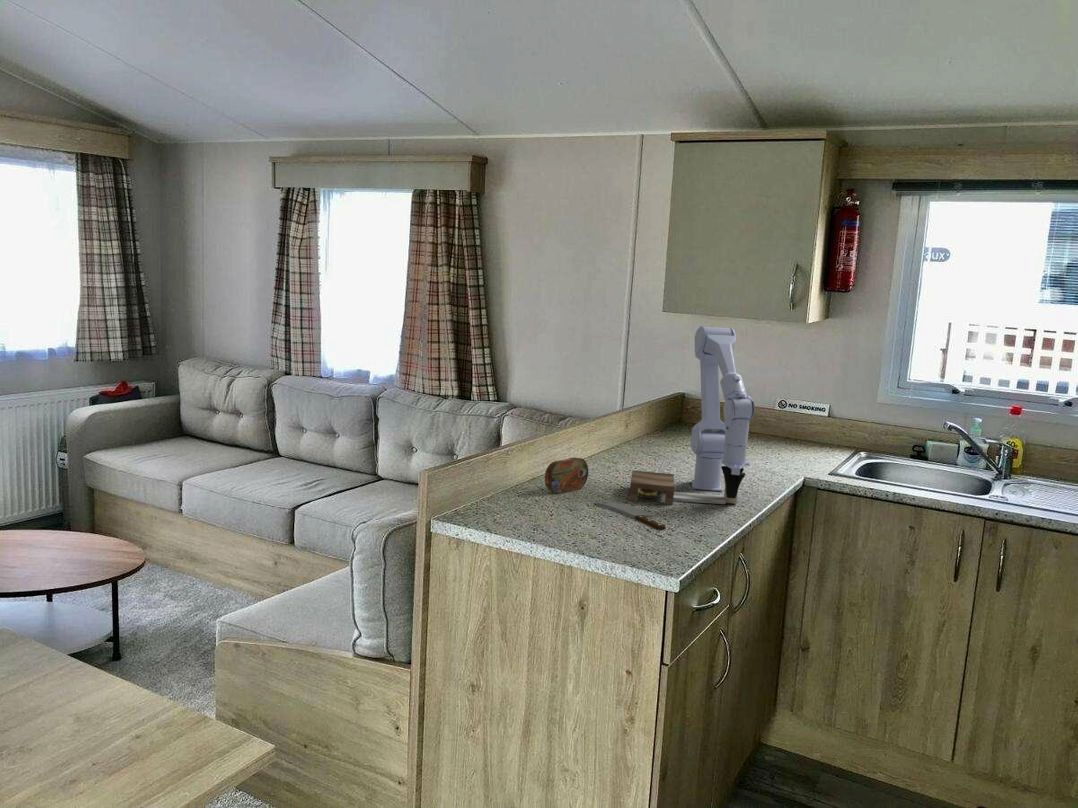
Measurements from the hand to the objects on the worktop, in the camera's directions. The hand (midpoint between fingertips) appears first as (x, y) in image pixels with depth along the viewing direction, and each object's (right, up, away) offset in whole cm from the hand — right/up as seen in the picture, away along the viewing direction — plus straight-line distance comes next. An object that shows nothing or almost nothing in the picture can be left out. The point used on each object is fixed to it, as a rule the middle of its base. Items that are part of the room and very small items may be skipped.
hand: (730, 496), depth 231 cm
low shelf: (-20, 0, +3) cm, 20 cm away
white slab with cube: (-7, -1, +1) cm, 7 cm away
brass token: (-21, 0, +3) cm, 21 cm away
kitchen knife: (-26, -4, -15) cm, 30 cm away
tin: (-43, +1, +3) cm, 43 cm away
